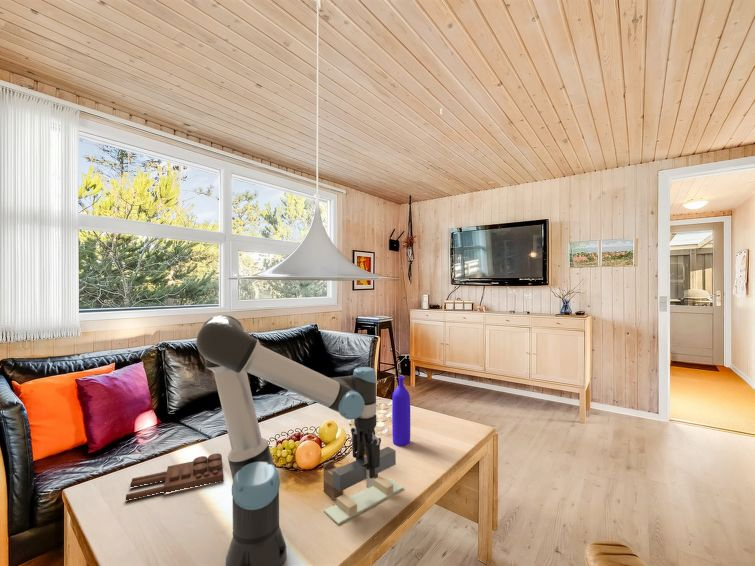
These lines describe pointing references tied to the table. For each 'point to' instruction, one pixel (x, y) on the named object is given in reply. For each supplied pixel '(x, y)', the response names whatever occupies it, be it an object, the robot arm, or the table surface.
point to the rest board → (362, 500)
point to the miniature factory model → (182, 476)
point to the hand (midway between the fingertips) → (365, 483)
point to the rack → (328, 479)
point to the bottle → (401, 415)
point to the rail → (361, 469)
